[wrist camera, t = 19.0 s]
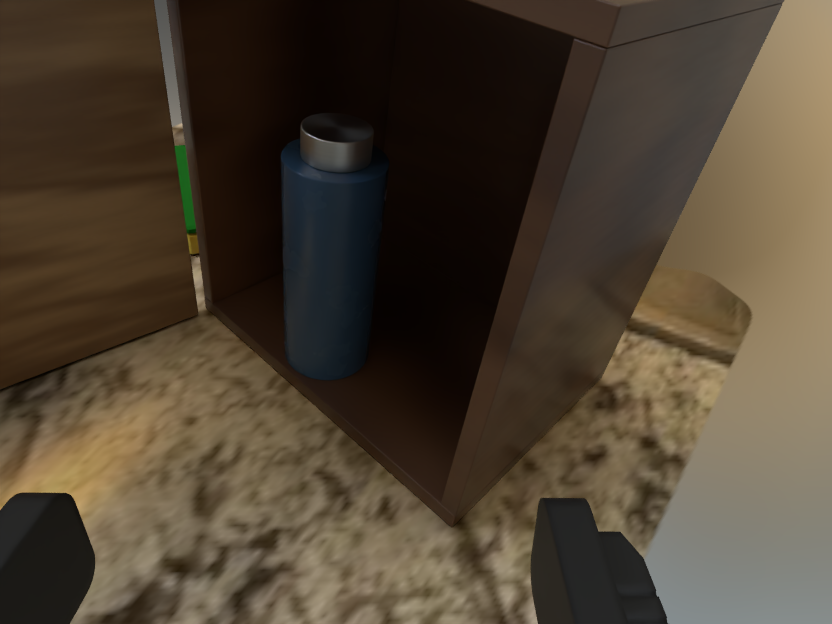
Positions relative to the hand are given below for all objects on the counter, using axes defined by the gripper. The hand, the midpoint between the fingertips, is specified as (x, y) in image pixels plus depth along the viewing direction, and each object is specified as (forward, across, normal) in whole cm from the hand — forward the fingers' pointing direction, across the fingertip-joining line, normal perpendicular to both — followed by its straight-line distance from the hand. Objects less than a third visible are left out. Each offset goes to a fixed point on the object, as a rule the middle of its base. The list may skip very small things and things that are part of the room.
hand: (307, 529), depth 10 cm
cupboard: (+26, -1, +12) cm, 29 cm away
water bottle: (+24, +4, +11) cm, 26 cm away
